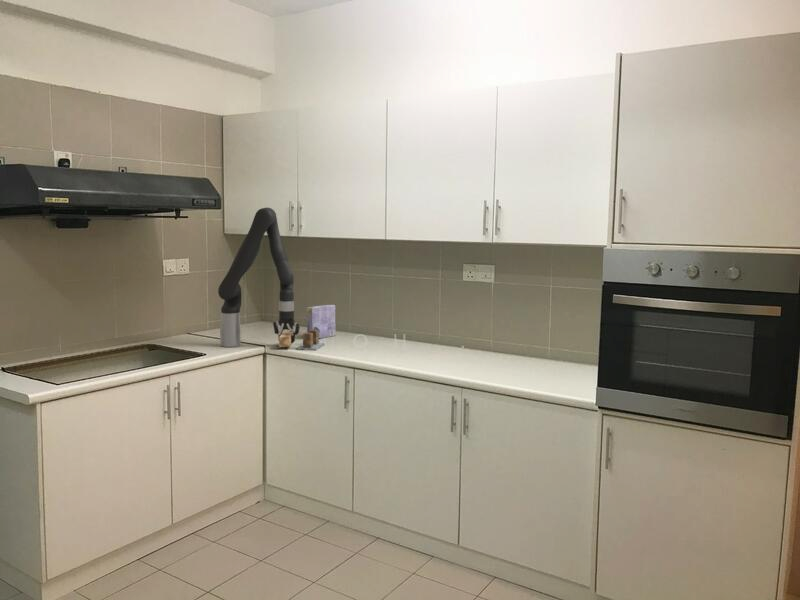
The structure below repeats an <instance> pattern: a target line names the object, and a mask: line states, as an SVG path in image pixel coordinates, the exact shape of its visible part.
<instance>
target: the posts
mask: <svg viewBox="0 0 800 600" xmlns="http://www.w3.org/2000/svg"><path fill="white" fill-rule="evenodd" d="M318 343H320V339H319V330H310V331H309V333H307V332H304V333H303V334H302V345H303V348H312V347H313V345H317V344H318Z"/></svg>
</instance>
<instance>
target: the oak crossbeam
mask: <svg viewBox="0 0 800 600" xmlns="http://www.w3.org/2000/svg"><path fill="white" fill-rule="evenodd" d="M291 336H292V335H291V333H290V331H283V332H282V334H281V336H280V337H279V338H278V347H279V348H290V347H291V346H292V344H293V343H291Z"/></svg>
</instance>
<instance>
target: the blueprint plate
mask: <svg viewBox="0 0 800 600" xmlns="http://www.w3.org/2000/svg"><path fill="white" fill-rule="evenodd" d="M325 344H326V343H324V342H323V343H322V342H319V343H318V344H317V345H313V347H312V348H303V344H301V345H299V346H298V347H296V350H297V349H307V350H306V351H315V350H316V351H318V350H320V349H321V348H323V347H324V346H325ZM322 346H323V347H322ZM320 347H321V348H320ZM317 349H318V350H317Z"/></svg>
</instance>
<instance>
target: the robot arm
mask: <svg viewBox="0 0 800 600" xmlns="http://www.w3.org/2000/svg"><path fill="white" fill-rule="evenodd" d="M278 223H279V222H278V217H277V213H276V211H275V210H274V209H272V208H270V207H262V208H259V209H258V210H257V211H256V213H255V214H254V217H253V219H252V223H251V225H250V228H249V230H248V232H247V233H246V236H245V237H244V239H243V240H242V243H241V245H240V246H239V248H238V249H237V250H238V251H237V253H236V254H235V257H234V258H233V261H232V263H231V265H230V268H229V269H228V271H227V273H226V275H225V276H224V278H223V279H222V281H221V282H220V284H219V286H218V288H217V289H218V290H217V293H218V296H219V298H220V299H222V300H224V301H223V304H222V306H221V308H220V309H221V310H220V311H221V313H220V315H221V317H220V318H221V327H220V328H219V329H220V330H219V335H220V336H219V337H220V340H219V341H220V342H219V343H220V347H224V348H237V347H240V346H241V344H242V340H241V308H242V287H241V284H240V281H241V280H242V277H243V276H245V274H246V273H247V272H248V271H249V269H250V268H251V267H252V266H253V264H254V262H255V260H256V258H257V256H258V254H259V251H260V248H261V244H262V239H263V238H264V235H265V234H266V235H267V238H268V246H269V251H270V255H271V257H272V260H273V264H274V266H275V269H276V272H277V275H278V279H279V301H278V302H279V303H278V319H279V320H278V321H274V322H273V323H272V325H273V329H274V334H275V335H278V339H279V337H280V336H281V334H282V333H283V332H284V331H285V330H287V331H288V332H290V333H291V335H292V336H291V343H292V344H293V343H294V342H295V341H296V340H295V339H296V338H295V337H296V335H299V332H300V328H301V323H300V322H296V321H295V303H294V301H295V300H294V297H295V296H294V281H295V280H294V274H293V272H292V269H291V267H290V264H289V258H288V255H287V253H286V250H285V246H284V244H283V241H282V237H281V233H280V230H279V224H278ZM279 326H280V328H279ZM294 327H295V328H294ZM294 329H295V330H294Z"/></svg>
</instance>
